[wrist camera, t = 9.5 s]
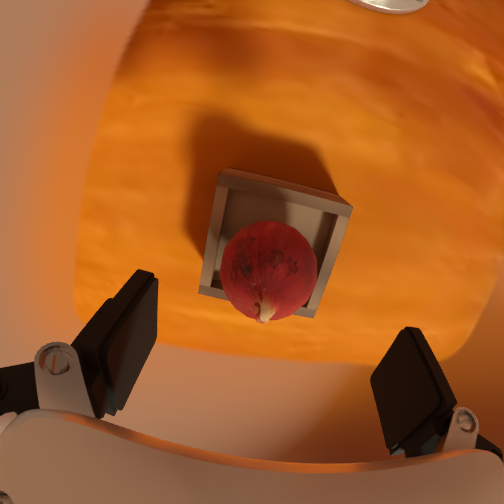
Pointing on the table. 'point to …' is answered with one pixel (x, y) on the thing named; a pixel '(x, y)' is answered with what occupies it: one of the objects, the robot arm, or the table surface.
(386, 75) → the table surface
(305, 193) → the base
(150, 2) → the table surface
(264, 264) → the onion
